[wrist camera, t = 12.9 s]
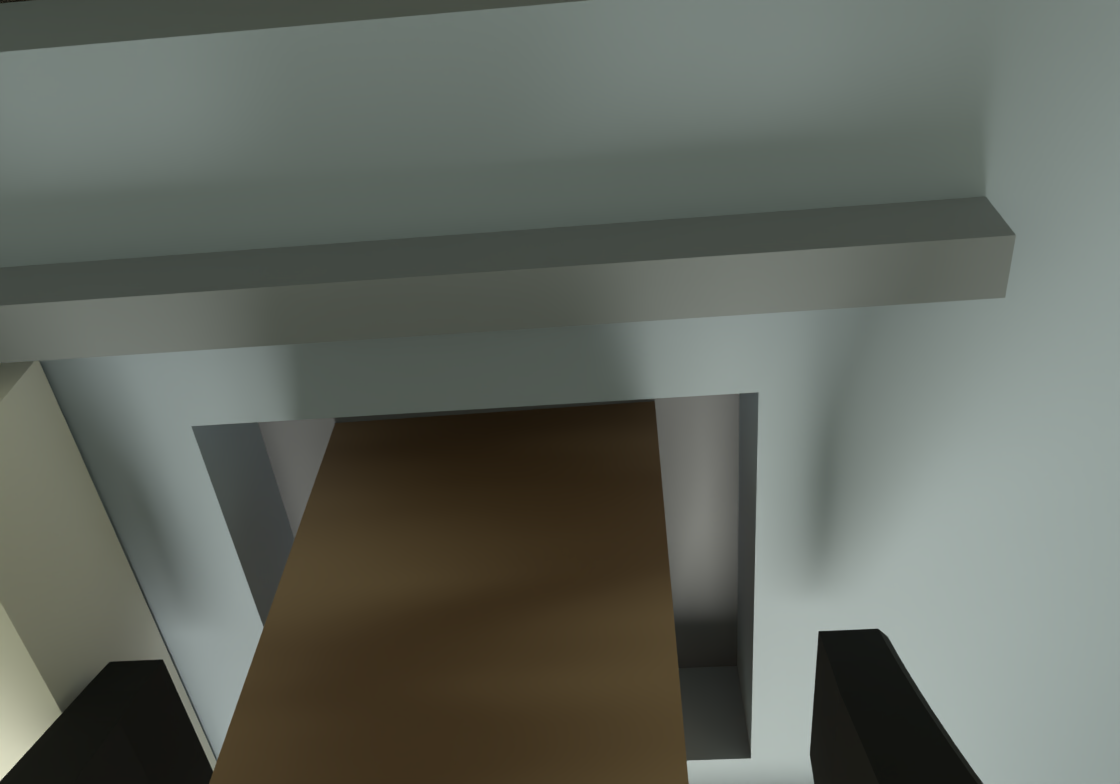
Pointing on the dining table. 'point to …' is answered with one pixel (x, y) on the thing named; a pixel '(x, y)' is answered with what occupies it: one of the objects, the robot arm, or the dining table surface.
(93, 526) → the cover
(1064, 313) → the puzzle board
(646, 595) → the brown wooden block
